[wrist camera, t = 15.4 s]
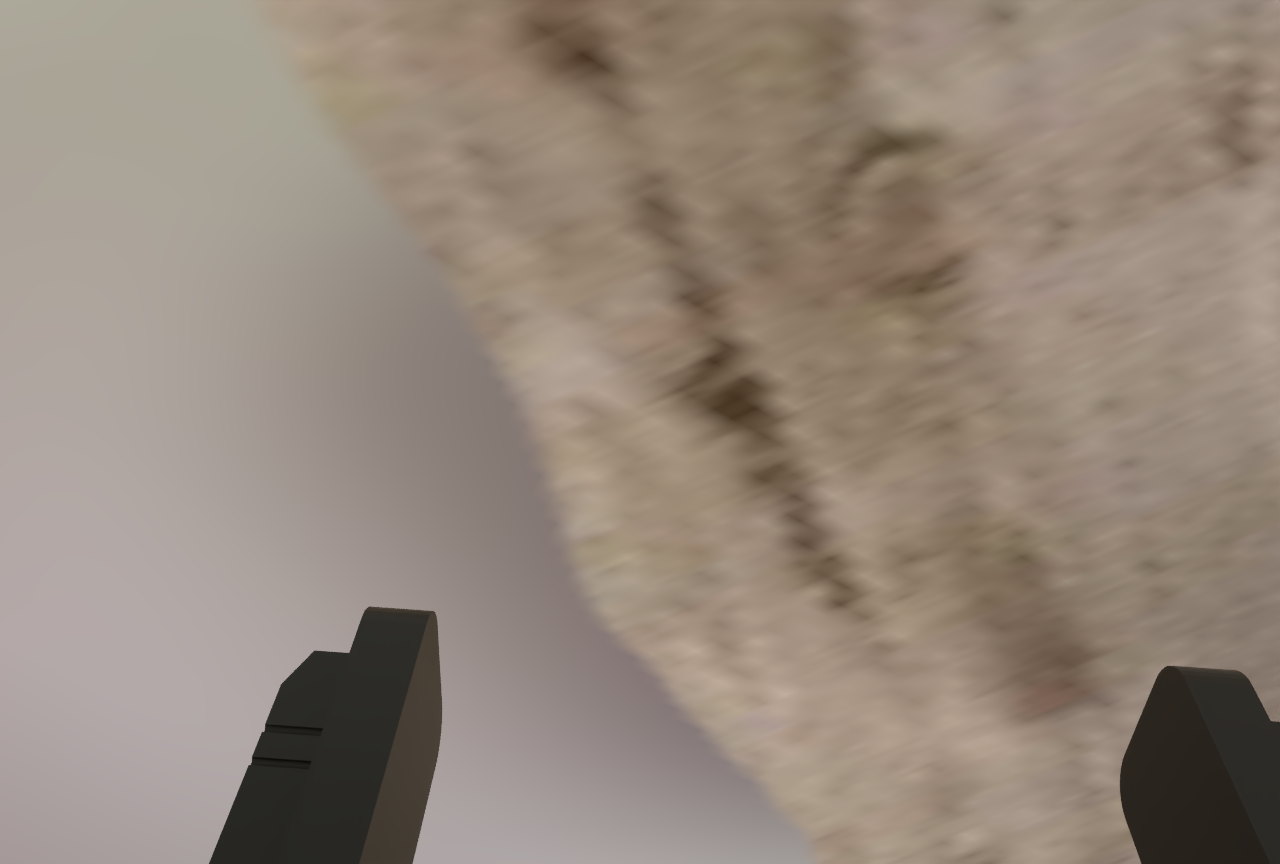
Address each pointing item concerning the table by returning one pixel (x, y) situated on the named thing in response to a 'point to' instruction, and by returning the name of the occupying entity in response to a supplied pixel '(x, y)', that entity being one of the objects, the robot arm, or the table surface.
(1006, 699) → the table surface
